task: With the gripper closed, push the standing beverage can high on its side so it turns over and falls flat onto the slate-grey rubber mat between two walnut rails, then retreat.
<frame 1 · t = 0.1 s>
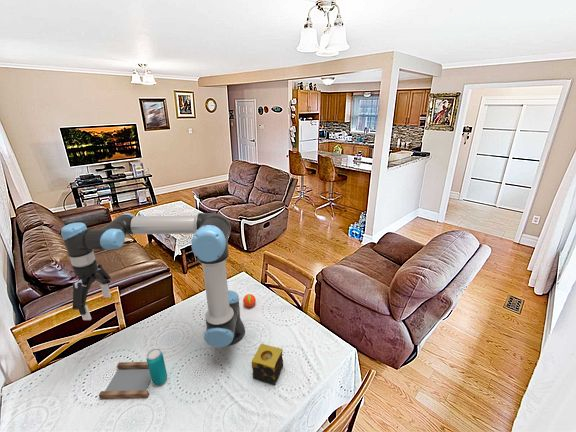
hand: (98, 307, 115), 28 cm above the table, fingers open, 13 cm apart
candle: (268, 372, 119), on the table
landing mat: (130, 381, 115), on the table
rail right: (140, 367, 121), on the table
rail left: (125, 397, 109), on the table
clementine: (249, 306, 158), on the table
beverage can: (160, 381, 115), on the table
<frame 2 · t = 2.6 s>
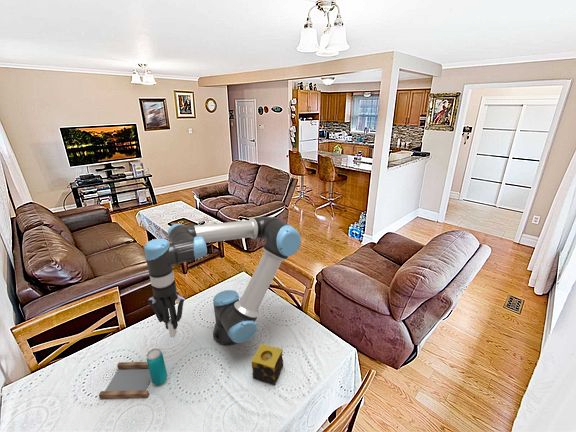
hand: (173, 334, 106), 24 cm above the table, fingers closed
nothing on the table moved.
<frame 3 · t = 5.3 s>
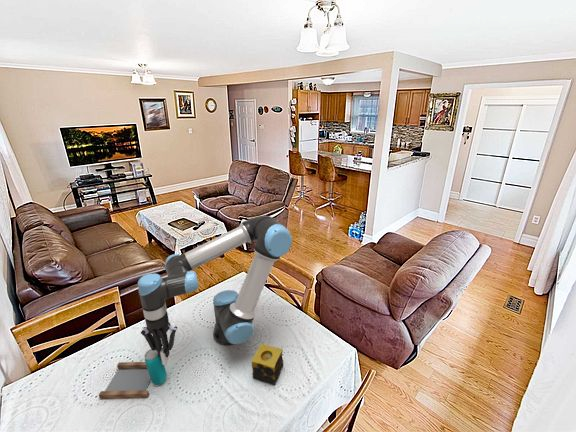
hand: (165, 361, 111), 11 cm above the table, fingers closed
nothing on the table moved.
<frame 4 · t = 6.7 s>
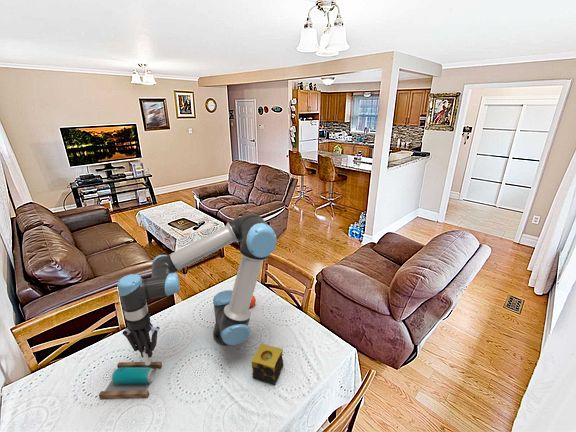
hand: (148, 362, 111), 10 cm above the table, fingers closed
beverage can: (152, 375, 114), point 3 cm above the table, touching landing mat
everything else where it was.
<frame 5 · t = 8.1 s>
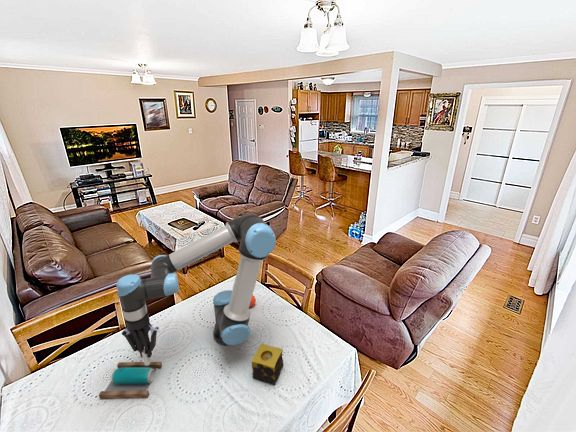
hand: (148, 362, 111), 10 cm above the table, fingers closed
nothing on the table moved.
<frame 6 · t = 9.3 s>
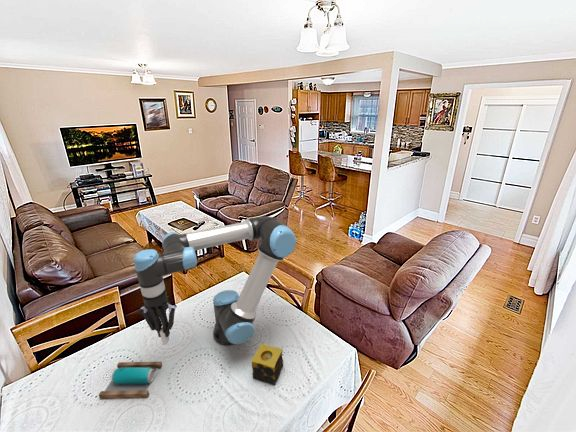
hand: (166, 342, 108), 20 cm above the table, fingers closed
nothing on the table moved.
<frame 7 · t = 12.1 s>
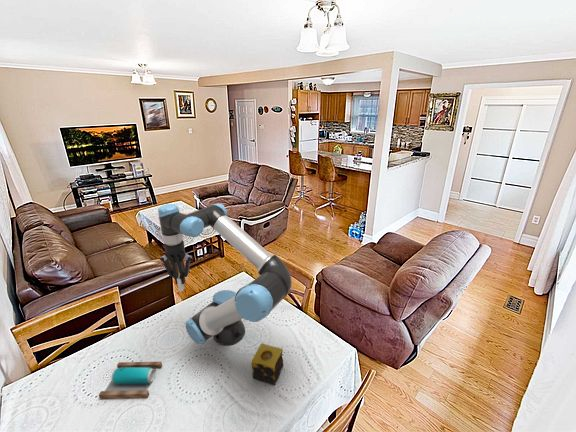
hand: (181, 289, 124), 29 cm above the table, fingers closed
nothing on the table moved.
at the end: beverage can tilted 90°; beverage can inside the target area (6.5 cm from its centre), point 3.2 cm above the table; beverage can touching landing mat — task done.
